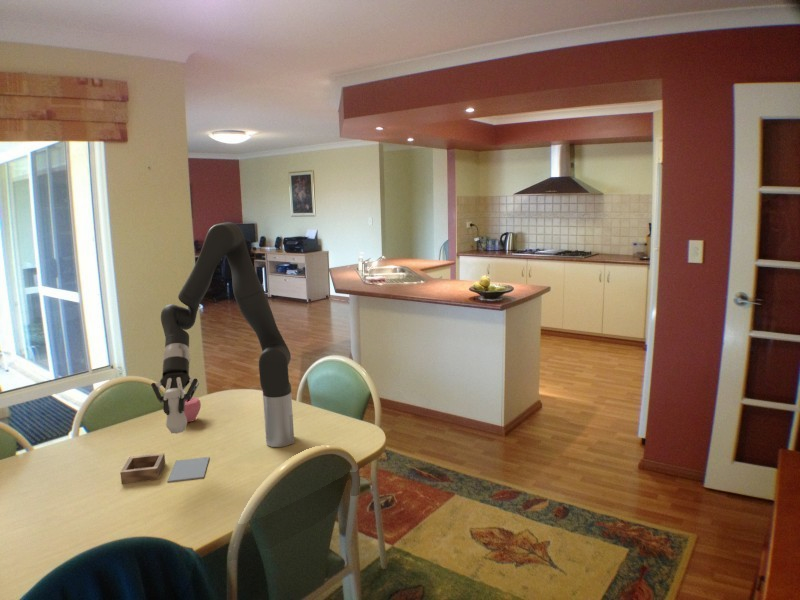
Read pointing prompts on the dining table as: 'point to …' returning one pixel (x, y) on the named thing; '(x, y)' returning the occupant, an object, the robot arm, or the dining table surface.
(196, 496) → the dining table surface
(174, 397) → the salt shaker
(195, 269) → the robot arm
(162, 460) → the pocket block
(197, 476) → the rubber mat
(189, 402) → the apple
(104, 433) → the dining table surface
